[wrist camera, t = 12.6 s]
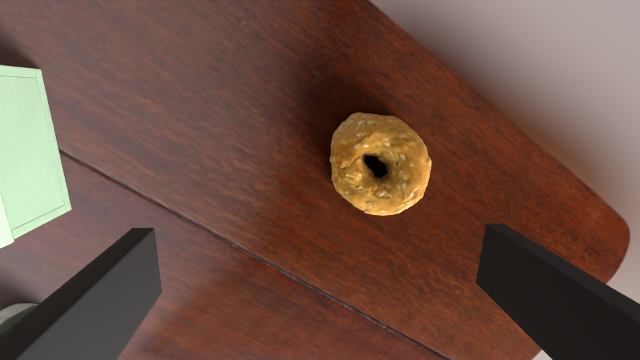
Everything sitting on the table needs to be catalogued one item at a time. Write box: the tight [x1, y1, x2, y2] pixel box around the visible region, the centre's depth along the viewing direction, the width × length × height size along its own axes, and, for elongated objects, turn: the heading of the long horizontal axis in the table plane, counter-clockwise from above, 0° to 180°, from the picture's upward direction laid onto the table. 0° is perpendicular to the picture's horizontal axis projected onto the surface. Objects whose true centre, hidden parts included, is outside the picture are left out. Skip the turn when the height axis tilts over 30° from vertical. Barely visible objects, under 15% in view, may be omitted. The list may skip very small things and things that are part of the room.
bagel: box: [330, 113, 431, 215], centre depth 31 cm, size 10×11×5 cm
